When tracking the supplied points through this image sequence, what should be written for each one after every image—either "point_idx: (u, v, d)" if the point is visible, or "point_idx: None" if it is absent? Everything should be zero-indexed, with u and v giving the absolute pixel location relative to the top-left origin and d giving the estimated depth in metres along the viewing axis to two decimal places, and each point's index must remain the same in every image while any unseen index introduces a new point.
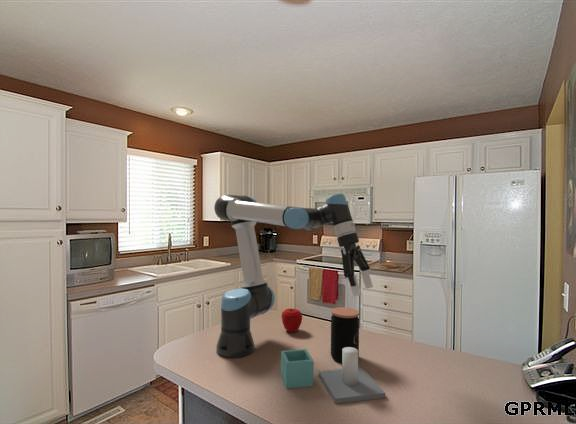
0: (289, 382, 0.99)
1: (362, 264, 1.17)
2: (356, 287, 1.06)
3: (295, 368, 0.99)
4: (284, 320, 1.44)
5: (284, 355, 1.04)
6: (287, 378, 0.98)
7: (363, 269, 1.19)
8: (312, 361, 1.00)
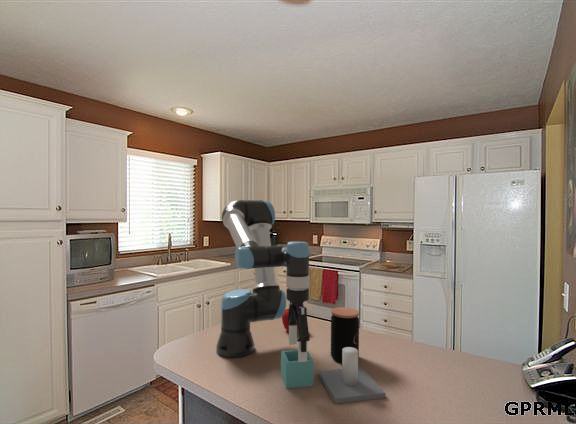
0: (289, 382, 0.99)
1: (295, 319, 1.09)
2: (304, 352, 0.96)
3: (295, 368, 0.99)
4: (284, 320, 1.44)
5: (284, 355, 1.04)
6: (287, 378, 0.98)
7: (291, 323, 1.10)
8: (312, 361, 1.00)
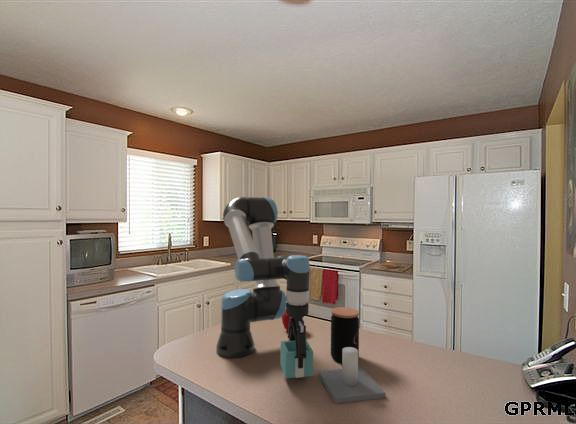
0: (288, 372, 0.99)
1: None
2: (301, 368, 0.99)
3: (295, 358, 0.99)
4: (284, 320, 1.44)
5: (284, 345, 1.04)
6: (286, 368, 0.99)
7: None
8: (311, 352, 1.01)
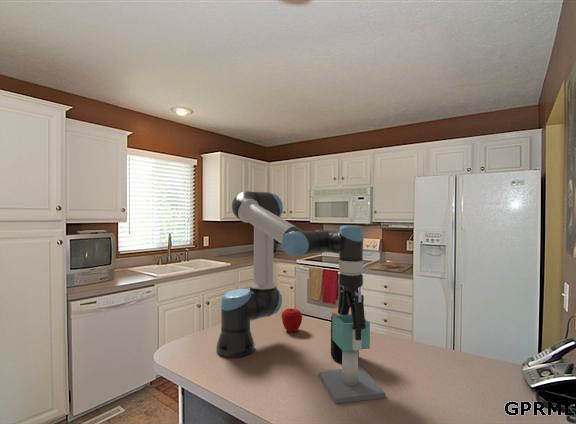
0: (345, 344, 0.95)
1: (347, 309, 1.04)
2: (359, 341, 0.95)
3: (351, 330, 0.95)
4: (284, 320, 1.44)
5: (337, 318, 1.00)
6: (343, 340, 0.95)
7: None
8: (368, 323, 0.97)
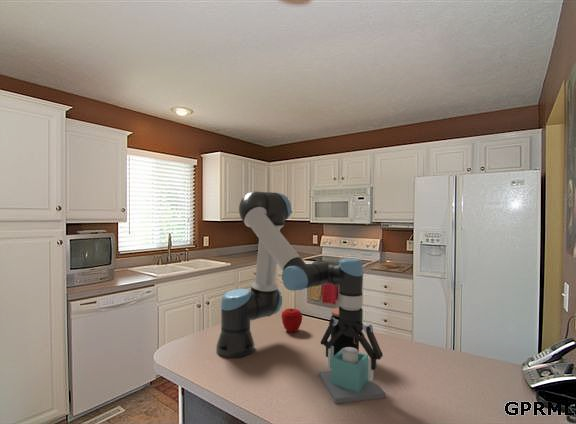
0: (359, 385, 0.95)
1: (335, 340, 1.04)
2: (372, 370, 0.97)
3: (361, 368, 0.96)
4: (284, 320, 1.44)
5: (342, 360, 0.97)
6: (358, 381, 0.94)
7: (329, 345, 1.04)
8: (367, 356, 1.01)
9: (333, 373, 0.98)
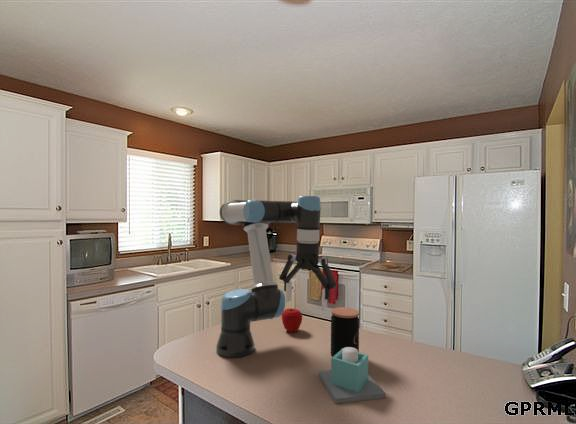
0: (359, 385, 0.95)
1: (293, 275, 1.07)
2: (326, 300, 1.01)
3: (361, 368, 0.96)
4: (284, 320, 1.44)
5: (342, 360, 0.97)
6: (358, 381, 0.94)
7: (287, 280, 1.08)
8: (367, 356, 1.01)
9: (333, 373, 0.98)
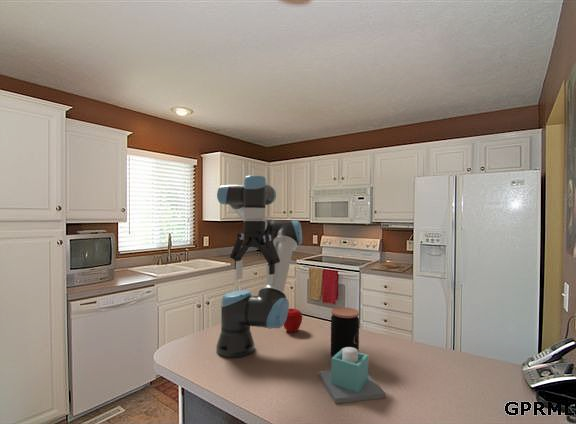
0: (359, 385, 0.95)
1: (243, 253, 1.11)
2: (271, 275, 1.04)
3: (361, 368, 0.96)
4: None
5: (342, 360, 0.97)
6: (358, 381, 0.94)
7: (238, 259, 1.12)
8: (367, 356, 1.01)
9: (333, 373, 0.98)
